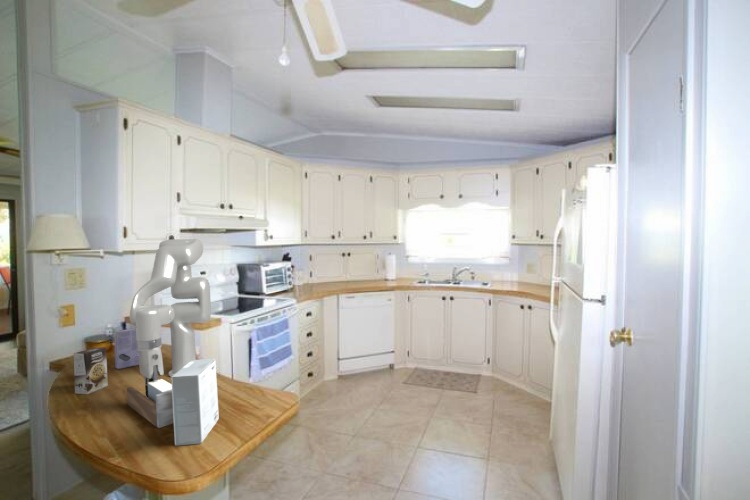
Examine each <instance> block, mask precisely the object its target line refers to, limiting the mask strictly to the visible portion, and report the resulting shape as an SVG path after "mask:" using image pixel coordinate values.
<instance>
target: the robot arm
mask: <svg viewBox="0 0 750 500" xmlns="http://www.w3.org/2000/svg"><path fill="white" fill-rule="evenodd" d="M158 245H159V246H158V248H157V250H156V253H155V255H154V263H153V267H152V272H151V277H150V279H149V280H148V281H147V282H146V283H144V284H143V285H141V287H140V288H139V289H138V290H137V292H136V293H135V294H134V296H133V299H132V301H131V306H130V311H129V321H130V324H131V325H132V326H135V328H136V337H137V350H138V351H139V365H138V367H139V373H140V375H142V376H143V377H144V384H145V388H144V389H145V396H146V397H148V382H152V381H153V382H157V381H158V380H159V376H161V377H162V376H164V373H165V372H164V370H165V369H164V361H163V360H164V359H163V355H162V354H163V353H162V349H161V348H162V346H163V344H162V343H163V342H162V326H166V325H168V324H169V328H170V329H169V330H170V344H171V345H170V347H171V370H169V371H168V376H169V377H170V378H171V377H172V376H173V375H174V374H176V373H177V372H178V371H179V370H181V369H182V368H183V367H184V366H185V365H187V364H188V363H189V362H190V361H192V360H197V358H196V334H195V330H194V329H193V327H192V326H191V325H190V324H198V323H199V324H200V323H206V322H209V320H210V319H211V315H212V308H211V307H212V305H211V285H210V282H209V280H208V279H207V277H201V276H199V277H193V276H192V265H194V264H196V263H197V262H198V260H199V259H200V258H201V257H202V256H203V253H204V246H203V242H202V241H201V240H200V239H198V238H197V239H196V238H188V239H187V238H185V239H184V238H183V239H182V238H181V239H179V238H177V239H165V240H162V241H161V242H160V243H159V244H158ZM168 288H170V295H171V297H172V298H174V299H176V300H192V299H197V301H184V302H183V301H182V302H175V303H172V304H151V305H150V304H149V305H146V304H145V303H146V302H147V301H148V300H149V298H151V297H152V296H154V295H155V294H158V293H160V292H163V291H164V290H167V289H168Z"/></svg>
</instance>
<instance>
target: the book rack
mask: <svg viewBox="0 0 750 500" xmlns="http://www.w3.org/2000/svg"><path fill="white" fill-rule="evenodd" d="M126 400H127V402H126V404H127V405H128V407H130V408H131V409H132V410H134V411H135V412H137V413H138V414H139V415H141V416H142V418H144V419H145V420H147V421H148V422H149V423H151V424H152V425H153V426H155V427H157V428H158V429H160V428H163V427H166V426H169V425H171V424H174V419H173V401H172V390H171V391H168V392H164V393H161V394H157V395H156V403H155V402H154V401H152V400H151V399H149V398H148V397H147V396H146V394H143V393H142V392H140V391H139V390H137V389H136V388H134V387H133V386H128V387H126Z"/></svg>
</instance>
